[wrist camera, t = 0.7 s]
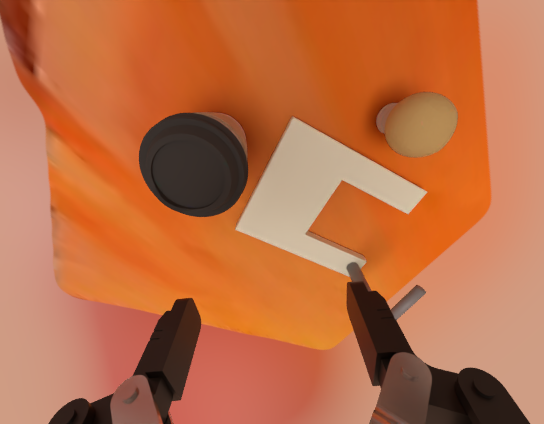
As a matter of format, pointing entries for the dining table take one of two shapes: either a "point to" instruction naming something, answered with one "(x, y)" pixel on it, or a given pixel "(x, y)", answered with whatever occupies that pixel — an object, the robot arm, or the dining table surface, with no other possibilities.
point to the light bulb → (418, 124)
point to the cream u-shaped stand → (319, 199)
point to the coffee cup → (195, 162)
